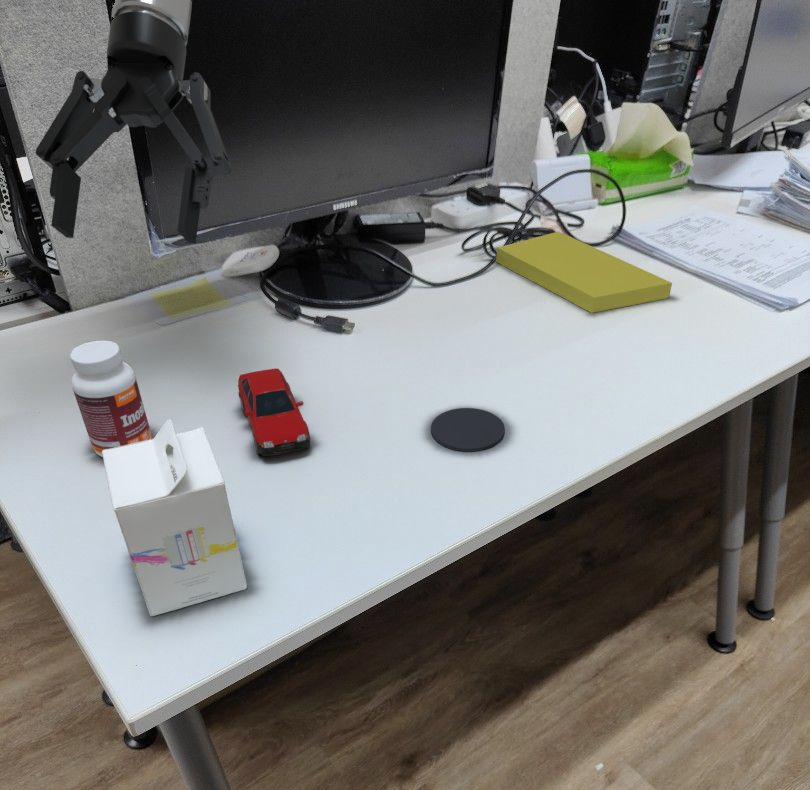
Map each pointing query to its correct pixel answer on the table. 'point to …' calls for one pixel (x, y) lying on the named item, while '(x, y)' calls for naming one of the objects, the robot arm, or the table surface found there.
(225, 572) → the ink box
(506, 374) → the table surface
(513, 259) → the flat mustard tile
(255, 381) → the toy car
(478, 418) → the coaster
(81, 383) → the pill bottle
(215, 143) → the robot arm
